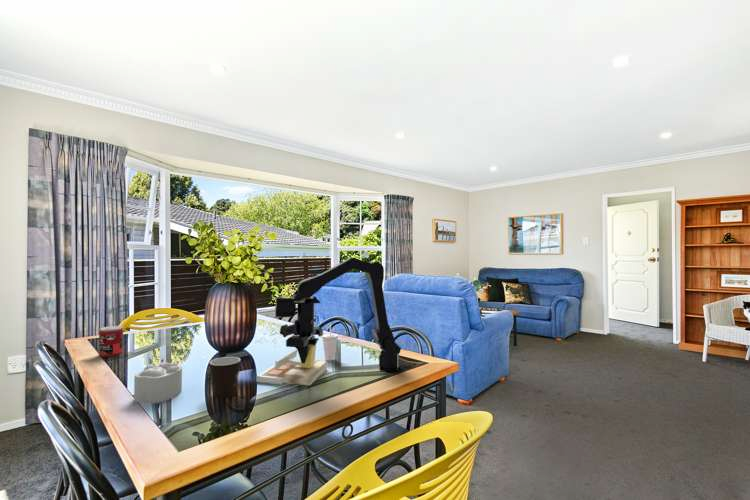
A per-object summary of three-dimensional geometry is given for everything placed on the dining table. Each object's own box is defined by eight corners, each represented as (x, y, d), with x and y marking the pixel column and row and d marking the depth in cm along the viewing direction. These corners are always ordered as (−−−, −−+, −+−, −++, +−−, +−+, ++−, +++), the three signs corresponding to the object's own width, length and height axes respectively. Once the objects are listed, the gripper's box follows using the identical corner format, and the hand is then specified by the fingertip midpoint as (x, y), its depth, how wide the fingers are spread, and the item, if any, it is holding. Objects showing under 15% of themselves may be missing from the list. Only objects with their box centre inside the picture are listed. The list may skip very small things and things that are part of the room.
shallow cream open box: (326, 369, 133) (326, 361, 133) (309, 385, 117) (309, 376, 117) (303, 367, 134) (303, 359, 134) (283, 383, 119) (284, 373, 119)
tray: (305, 366, 136) (305, 361, 136) (281, 384, 117) (281, 378, 117) (282, 364, 138) (283, 359, 138) (256, 382, 119) (256, 376, 119)
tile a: (286, 360, 135) (286, 366, 135) (281, 364, 131) (281, 369, 131) (296, 361, 134) (296, 367, 134) (291, 364, 130) (291, 370, 130)
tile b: (279, 365, 130) (279, 370, 130) (274, 368, 126) (274, 374, 126) (290, 365, 129) (290, 371, 129) (285, 369, 125) (285, 375, 125)
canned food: (94, 356, 147) (94, 328, 147) (113, 350, 155) (113, 325, 155) (108, 357, 145) (108, 330, 145) (127, 352, 153) (127, 326, 153)
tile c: (273, 369, 125) (273, 375, 125) (267, 373, 121) (267, 379, 121) (283, 370, 124) (283, 376, 124) (278, 374, 120) (278, 380, 120)
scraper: (319, 360, 133) (321, 341, 132) (303, 373, 118) (305, 352, 118) (294, 356, 135) (296, 337, 135) (274, 368, 120) (276, 347, 120)
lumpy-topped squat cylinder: (128, 401, 104) (128, 371, 104) (161, 385, 116) (161, 358, 116) (161, 404, 102) (161, 373, 102) (191, 387, 115) (191, 359, 115)
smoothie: (339, 357, 148) (339, 323, 148) (336, 362, 141) (336, 326, 142) (323, 357, 148) (324, 322, 149) (319, 361, 142) (320, 325, 142)
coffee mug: (229, 401, 104) (229, 366, 104) (202, 398, 106) (203, 364, 106) (251, 386, 116) (251, 355, 116) (226, 384, 117) (227, 353, 117)
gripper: (295, 311, 137) (295, 352, 137) (271, 320, 118) (270, 368, 118) (323, 312, 134) (323, 354, 134) (303, 321, 116) (302, 370, 116)
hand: (305, 361), depth 126 cm, fingers closed on scraper, 3 cm apart
